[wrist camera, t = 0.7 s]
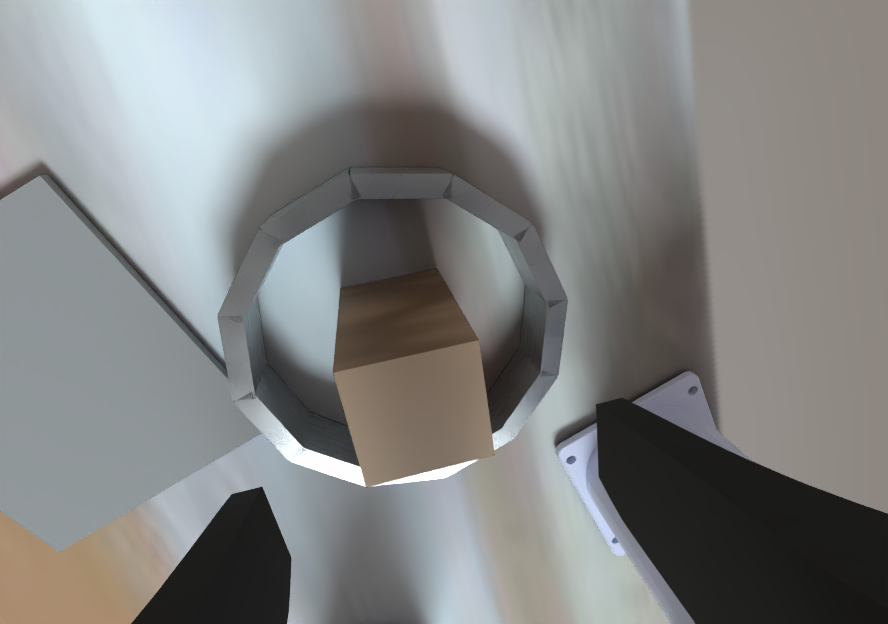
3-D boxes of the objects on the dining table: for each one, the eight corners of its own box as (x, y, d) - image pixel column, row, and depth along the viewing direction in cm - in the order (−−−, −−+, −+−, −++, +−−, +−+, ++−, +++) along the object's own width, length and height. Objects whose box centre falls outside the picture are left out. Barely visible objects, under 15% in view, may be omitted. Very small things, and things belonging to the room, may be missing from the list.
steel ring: (581, 357, 22) (607, 384, 20) (354, 489, 22) (354, 530, 20) (458, 101, 17) (474, 97, 14) (167, 278, 17) (138, 301, 15)
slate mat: (273, 421, 20) (272, 426, 20) (64, 544, 21) (58, 551, 20) (46, 174, 15) (39, 175, 15) (-222, 341, 16) (-235, 346, 15)
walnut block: (437, 268, 19) (478, 340, 13) (451, 353, 21) (494, 455, 14) (340, 288, 19) (332, 372, 12) (362, 373, 20) (366, 487, 14)
